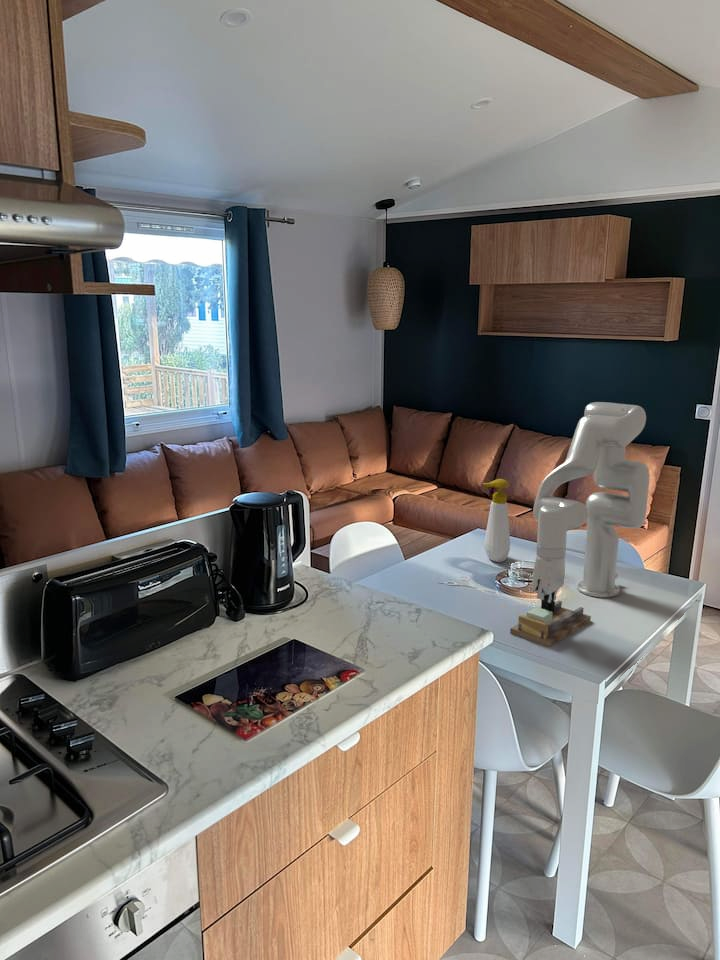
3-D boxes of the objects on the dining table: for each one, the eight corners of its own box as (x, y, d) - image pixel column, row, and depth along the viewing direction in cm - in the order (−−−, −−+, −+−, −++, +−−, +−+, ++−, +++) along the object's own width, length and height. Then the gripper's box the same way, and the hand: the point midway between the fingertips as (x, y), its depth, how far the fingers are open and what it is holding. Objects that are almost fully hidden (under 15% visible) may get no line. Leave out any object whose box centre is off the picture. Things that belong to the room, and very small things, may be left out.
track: (552, 609, 218) (553, 591, 217) (590, 621, 210) (591, 602, 209) (510, 633, 202) (511, 614, 200) (549, 647, 194) (551, 627, 192)
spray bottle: (474, 553, 266) (477, 475, 260) (502, 552, 268) (506, 474, 261) (484, 566, 254) (488, 483, 247) (513, 565, 255) (518, 483, 248)
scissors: (459, 574, 245) (509, 590, 231) (459, 576, 246) (509, 592, 232) (438, 582, 238) (488, 599, 224) (438, 584, 238) (488, 601, 224)
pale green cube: (535, 623, 204) (536, 606, 203) (551, 629, 201) (552, 611, 199) (525, 629, 200) (526, 612, 199) (542, 634, 197) (543, 617, 196)
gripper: (552, 540, 206) (548, 601, 211) (524, 555, 195) (521, 618, 200) (577, 547, 201) (573, 609, 206) (549, 561, 190) (546, 627, 195)
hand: (547, 613), depth 203 cm, fingers closed
